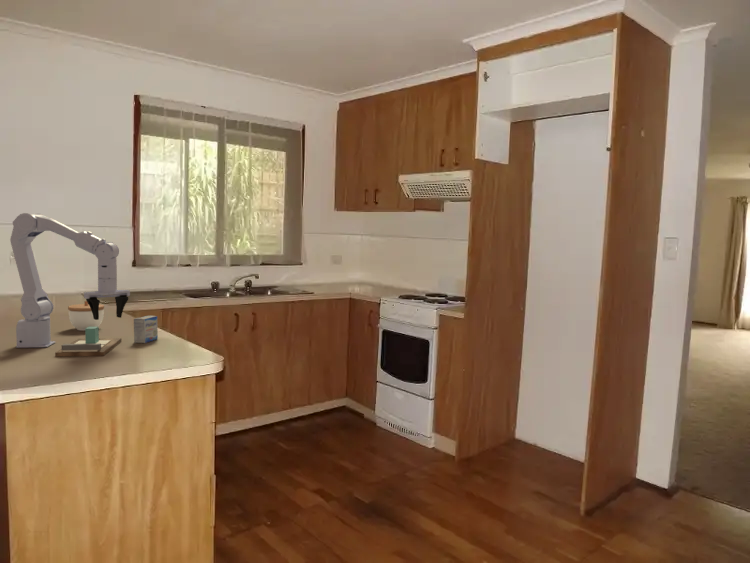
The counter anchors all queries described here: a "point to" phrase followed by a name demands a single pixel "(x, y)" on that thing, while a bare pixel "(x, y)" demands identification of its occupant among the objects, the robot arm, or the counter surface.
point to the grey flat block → (82, 347)
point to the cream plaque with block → (92, 337)
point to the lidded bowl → (84, 316)
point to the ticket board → (101, 352)
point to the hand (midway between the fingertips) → (107, 318)
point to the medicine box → (145, 329)
